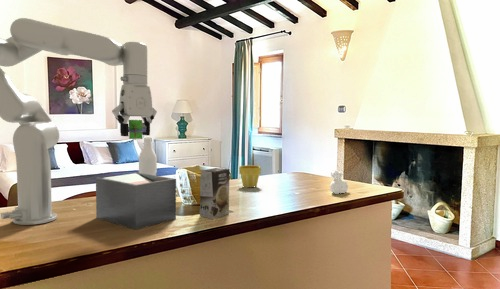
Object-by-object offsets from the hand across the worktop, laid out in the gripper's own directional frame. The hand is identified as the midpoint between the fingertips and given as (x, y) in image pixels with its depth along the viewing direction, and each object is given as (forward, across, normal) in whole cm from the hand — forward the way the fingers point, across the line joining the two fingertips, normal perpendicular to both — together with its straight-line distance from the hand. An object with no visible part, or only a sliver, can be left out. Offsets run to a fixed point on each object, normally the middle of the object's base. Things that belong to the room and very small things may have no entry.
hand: (135, 135), depth 128 cm
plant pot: (+28, +70, +5) cm, 76 cm away
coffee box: (+28, +20, -17) cm, 38 cm away
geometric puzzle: (+1, 0, 0) cm, 1 cm away
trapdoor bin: (+28, 0, 0) cm, 28 cm away
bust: (+28, +85, -34) cm, 96 cm away
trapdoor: (+17, 0, +2) cm, 17 cm away
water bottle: (+28, +20, +19) cm, 39 cm away
